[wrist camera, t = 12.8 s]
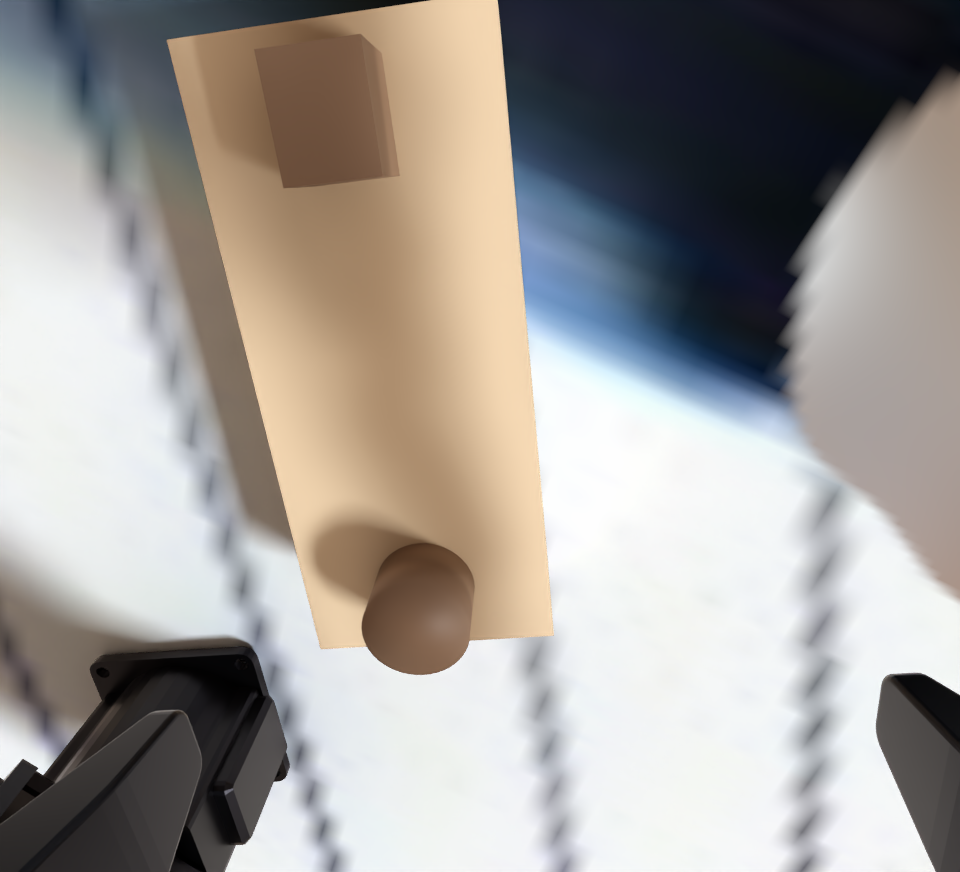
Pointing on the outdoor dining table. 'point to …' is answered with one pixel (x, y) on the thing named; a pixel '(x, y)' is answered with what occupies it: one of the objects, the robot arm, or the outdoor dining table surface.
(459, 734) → the outdoor dining table surface
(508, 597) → the plane body
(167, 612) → the outdoor dining table surface
